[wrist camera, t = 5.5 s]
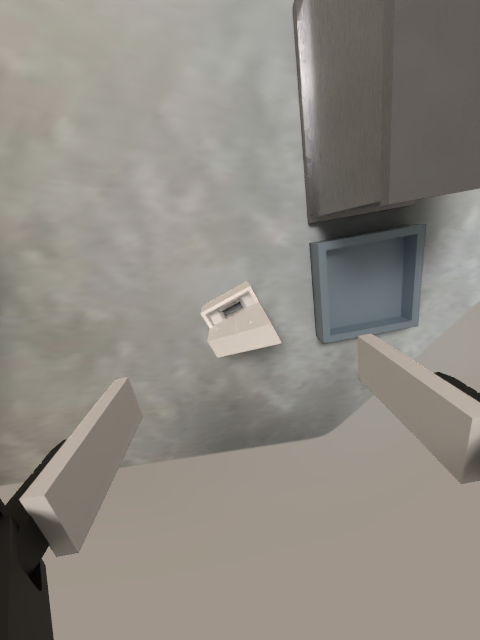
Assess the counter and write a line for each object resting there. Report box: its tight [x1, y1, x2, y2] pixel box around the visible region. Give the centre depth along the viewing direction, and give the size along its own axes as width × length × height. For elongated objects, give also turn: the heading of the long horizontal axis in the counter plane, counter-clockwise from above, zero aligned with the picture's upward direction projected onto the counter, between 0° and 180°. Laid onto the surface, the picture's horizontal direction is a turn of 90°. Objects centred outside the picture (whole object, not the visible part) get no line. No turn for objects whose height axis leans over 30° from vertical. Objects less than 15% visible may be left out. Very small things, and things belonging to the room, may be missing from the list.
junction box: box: [293, 0, 480, 224], centre depth 17 cm, size 11×17×13 cm, turn 10°
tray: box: [309, 224, 426, 343], centre depth 27 cm, size 11×11×2 cm
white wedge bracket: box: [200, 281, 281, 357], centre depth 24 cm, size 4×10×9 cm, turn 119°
